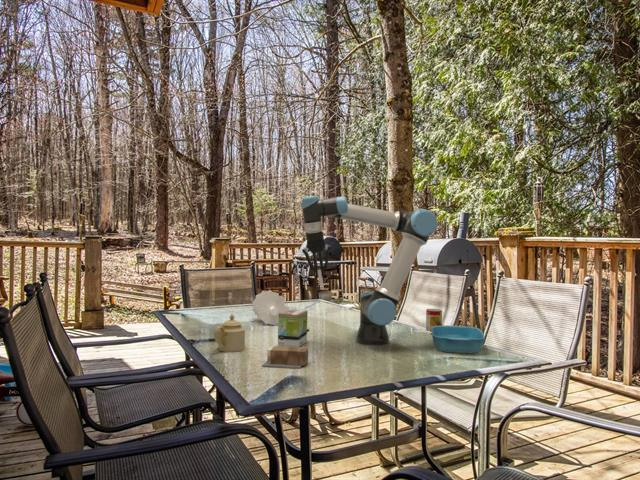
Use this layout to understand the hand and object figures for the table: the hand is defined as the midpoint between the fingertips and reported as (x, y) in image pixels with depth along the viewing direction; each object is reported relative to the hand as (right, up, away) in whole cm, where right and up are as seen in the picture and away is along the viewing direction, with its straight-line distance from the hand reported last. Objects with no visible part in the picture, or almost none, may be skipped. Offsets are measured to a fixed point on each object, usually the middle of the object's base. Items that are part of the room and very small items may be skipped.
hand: (321, 284), depth 207 cm
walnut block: (-6, -24, -31) cm, 40 cm away
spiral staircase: (-29, -28, +61) cm, 73 cm away
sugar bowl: (-38, -27, -9) cm, 48 cm away
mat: (-14, -27, -30) cm, 42 cm away
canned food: (+58, -28, +35) cm, 73 cm away
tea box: (-13, -27, +4) cm, 31 cm away
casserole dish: (+61, -29, +4) cm, 67 cm away
